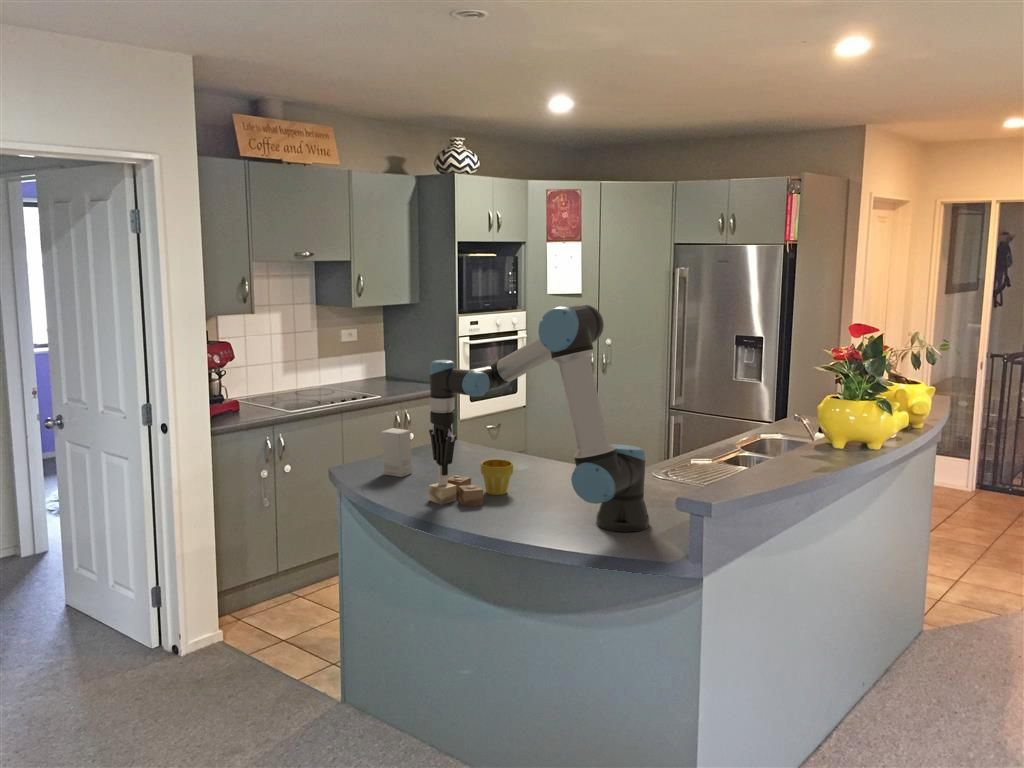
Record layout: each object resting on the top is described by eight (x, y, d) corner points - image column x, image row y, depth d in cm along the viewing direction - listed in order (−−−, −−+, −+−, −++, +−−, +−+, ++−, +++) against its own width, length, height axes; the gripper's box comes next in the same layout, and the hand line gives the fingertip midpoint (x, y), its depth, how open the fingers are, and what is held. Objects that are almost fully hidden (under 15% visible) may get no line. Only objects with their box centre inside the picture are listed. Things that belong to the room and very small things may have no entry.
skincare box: (412, 473, 299) (412, 430, 297) (400, 478, 294) (399, 433, 291) (393, 470, 304) (393, 427, 301) (381, 474, 298) (380, 430, 296)
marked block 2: (483, 505, 265) (483, 488, 264) (464, 507, 263) (464, 490, 262) (477, 499, 271) (477, 483, 270) (458, 501, 269) (458, 485, 268)
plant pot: (509, 498, 272) (509, 468, 271) (477, 495, 274) (477, 466, 273) (515, 488, 282) (515, 460, 281) (484, 486, 284) (485, 458, 283)
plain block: (456, 500, 269) (456, 485, 268) (441, 504, 265) (441, 489, 264) (443, 496, 273) (443, 481, 273) (429, 500, 269) (429, 485, 268)
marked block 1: (470, 492, 278) (470, 477, 277) (460, 497, 273) (460, 481, 272) (455, 489, 281) (455, 474, 280) (445, 494, 276) (444, 478, 275)
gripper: (463, 412, 261) (463, 487, 265) (442, 405, 272) (442, 477, 276) (442, 415, 257) (442, 491, 261) (421, 408, 268) (422, 481, 271)
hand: (442, 484), depth 268 cm, fingers closed
